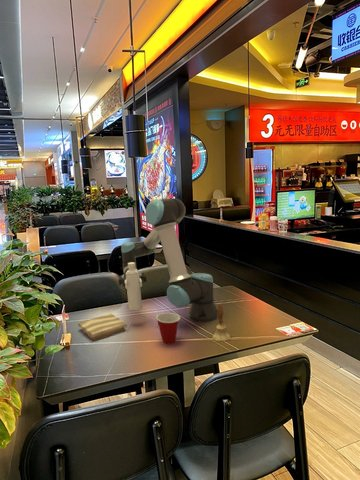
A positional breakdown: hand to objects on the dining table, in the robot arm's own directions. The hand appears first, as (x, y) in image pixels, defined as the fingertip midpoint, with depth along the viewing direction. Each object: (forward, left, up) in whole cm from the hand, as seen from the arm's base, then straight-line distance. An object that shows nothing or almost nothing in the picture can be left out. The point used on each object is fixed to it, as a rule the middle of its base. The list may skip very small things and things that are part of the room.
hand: (133, 284), depth 175 cm
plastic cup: (-23, -4, -23) cm, 33 cm away
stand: (+10, +14, -23) cm, 29 cm away
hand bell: (-36, -24, -23) cm, 49 cm away
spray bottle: (+4, -2, -14) cm, 15 cm away
